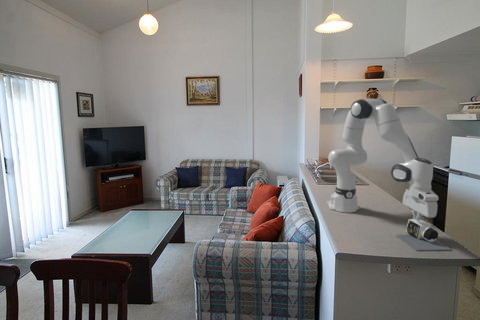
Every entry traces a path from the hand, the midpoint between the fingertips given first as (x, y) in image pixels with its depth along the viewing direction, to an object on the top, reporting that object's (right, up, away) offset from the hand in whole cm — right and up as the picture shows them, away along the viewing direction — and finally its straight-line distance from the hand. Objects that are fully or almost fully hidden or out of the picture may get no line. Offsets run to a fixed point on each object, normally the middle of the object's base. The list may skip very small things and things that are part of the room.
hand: (416, 219), depth 137 cm
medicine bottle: (+1, -4, +5) cm, 6 cm away
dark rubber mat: (0, -10, -4) cm, 11 cm away
